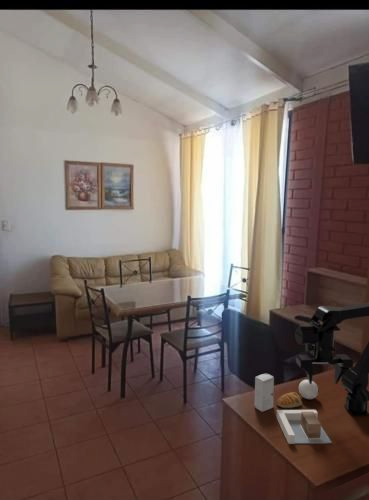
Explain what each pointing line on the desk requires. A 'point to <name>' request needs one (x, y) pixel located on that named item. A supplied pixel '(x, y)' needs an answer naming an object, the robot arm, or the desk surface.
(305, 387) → the white egg
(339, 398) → the desk surface
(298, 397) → the pastry
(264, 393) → the skincare box
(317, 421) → the walnut block
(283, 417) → the corner arena
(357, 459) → the desk surface
